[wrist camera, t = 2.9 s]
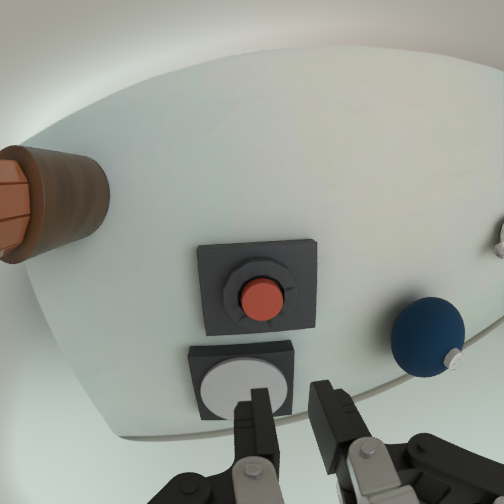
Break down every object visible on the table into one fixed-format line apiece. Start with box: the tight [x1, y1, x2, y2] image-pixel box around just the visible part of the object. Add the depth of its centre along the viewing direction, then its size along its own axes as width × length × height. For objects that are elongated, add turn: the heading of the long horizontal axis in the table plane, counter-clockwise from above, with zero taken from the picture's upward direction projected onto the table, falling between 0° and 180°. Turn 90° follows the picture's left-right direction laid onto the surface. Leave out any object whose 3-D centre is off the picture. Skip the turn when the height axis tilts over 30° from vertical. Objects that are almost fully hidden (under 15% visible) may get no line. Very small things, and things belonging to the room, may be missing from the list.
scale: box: [188, 340, 294, 421], centre depth 26 cm, size 10×9×3 cm
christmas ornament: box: [391, 297, 465, 377], centre depth 22 cm, size 8×8×10 cm
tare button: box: [241, 278, 283, 321], centre depth 22 cm, size 3×3×1 cm
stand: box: [0, 145, 110, 264], centre depth 17 cm, size 8×8×10 cm
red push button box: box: [197, 239, 317, 336], centre depth 24 cm, size 10×8×3 cm
